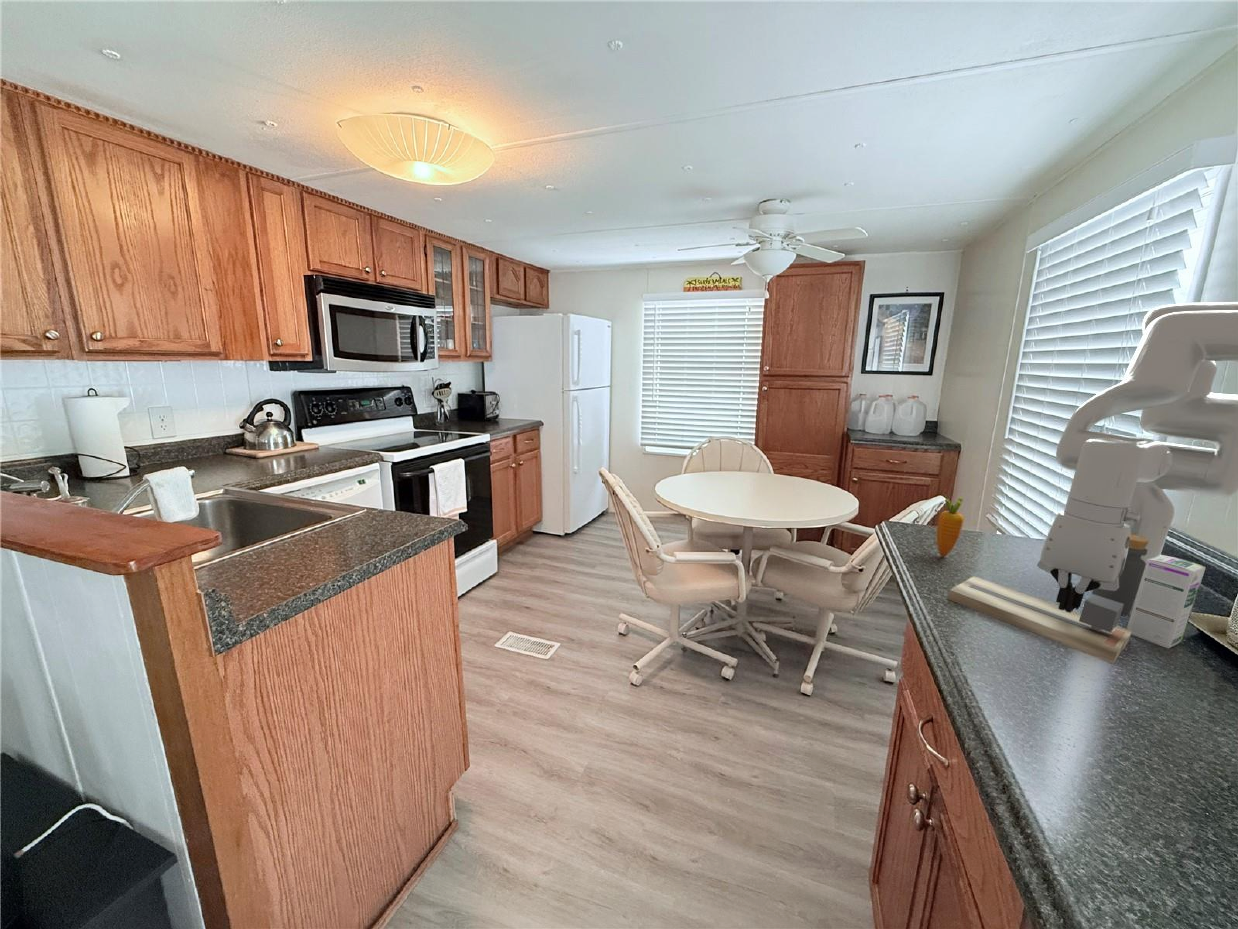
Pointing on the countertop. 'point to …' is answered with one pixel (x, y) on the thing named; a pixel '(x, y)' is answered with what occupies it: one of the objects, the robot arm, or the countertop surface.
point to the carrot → (949, 528)
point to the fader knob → (1101, 613)
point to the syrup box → (1165, 600)
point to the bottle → (1128, 575)
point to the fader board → (1040, 618)
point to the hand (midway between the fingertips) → (1066, 608)
